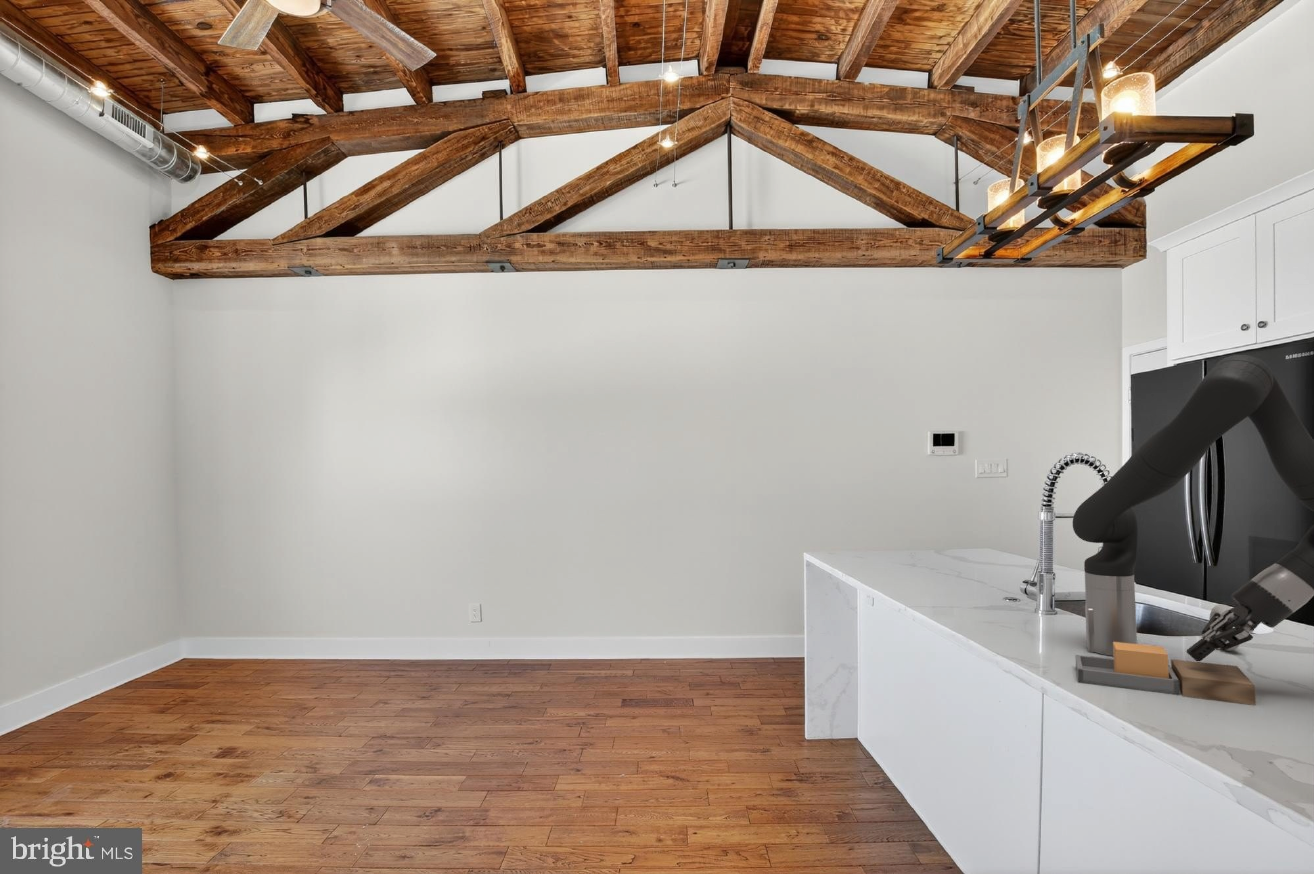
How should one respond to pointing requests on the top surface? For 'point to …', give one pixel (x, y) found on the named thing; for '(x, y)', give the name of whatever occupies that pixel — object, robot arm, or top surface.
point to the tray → (1122, 676)
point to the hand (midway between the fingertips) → (1191, 656)
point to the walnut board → (1213, 682)
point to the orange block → (1140, 660)
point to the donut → (1220, 610)
